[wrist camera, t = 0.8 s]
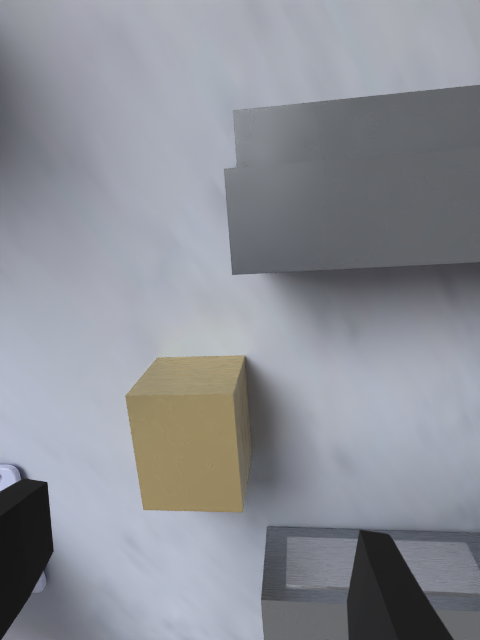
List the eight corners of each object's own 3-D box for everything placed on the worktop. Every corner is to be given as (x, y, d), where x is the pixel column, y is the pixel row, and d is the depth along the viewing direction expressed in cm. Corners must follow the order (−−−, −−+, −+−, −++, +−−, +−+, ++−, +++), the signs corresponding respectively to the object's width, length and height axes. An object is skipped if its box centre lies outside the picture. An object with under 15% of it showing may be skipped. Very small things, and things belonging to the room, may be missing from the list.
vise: (276, 666, 24) (272, 784, 19) (240, 120, 16) (217, 89, 11) (508, 683, 22) (566, 817, 17) (589, 85, 15) (733, 32, 10)
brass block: (170, 452, 21) (143, 510, 17) (158, 356, 20) (125, 395, 16) (252, 453, 20) (242, 512, 17) (244, 354, 19) (232, 394, 15)
